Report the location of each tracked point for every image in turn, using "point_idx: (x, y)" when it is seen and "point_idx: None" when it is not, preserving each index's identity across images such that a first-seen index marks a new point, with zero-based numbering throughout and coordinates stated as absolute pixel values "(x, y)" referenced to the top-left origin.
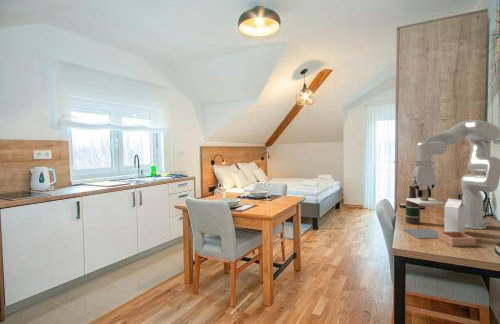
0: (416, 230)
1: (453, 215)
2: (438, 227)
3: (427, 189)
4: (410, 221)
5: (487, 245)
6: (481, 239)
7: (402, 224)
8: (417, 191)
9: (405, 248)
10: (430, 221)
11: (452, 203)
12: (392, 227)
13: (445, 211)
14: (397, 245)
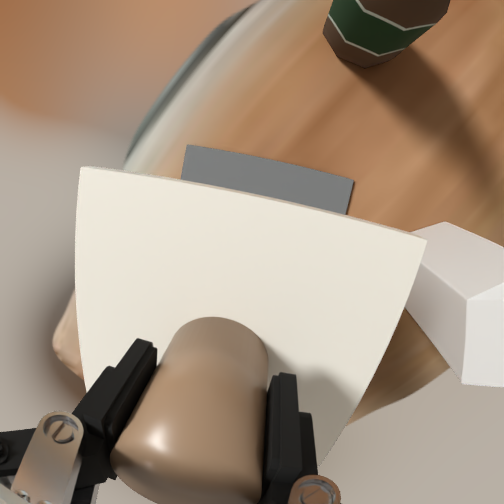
0: (250, 183)
1: (437, 327)
2: (426, 160)
3: (251, 499)
4: (333, 42)
5: (361, 410)
6: (414, 361)
7: (275, 40)
8: (81, 407)
9: (73, 356)
10: (465, 60)
11: (500, 343)
12: (171, 85)
13: (444, 288)
14: (61, 328)
